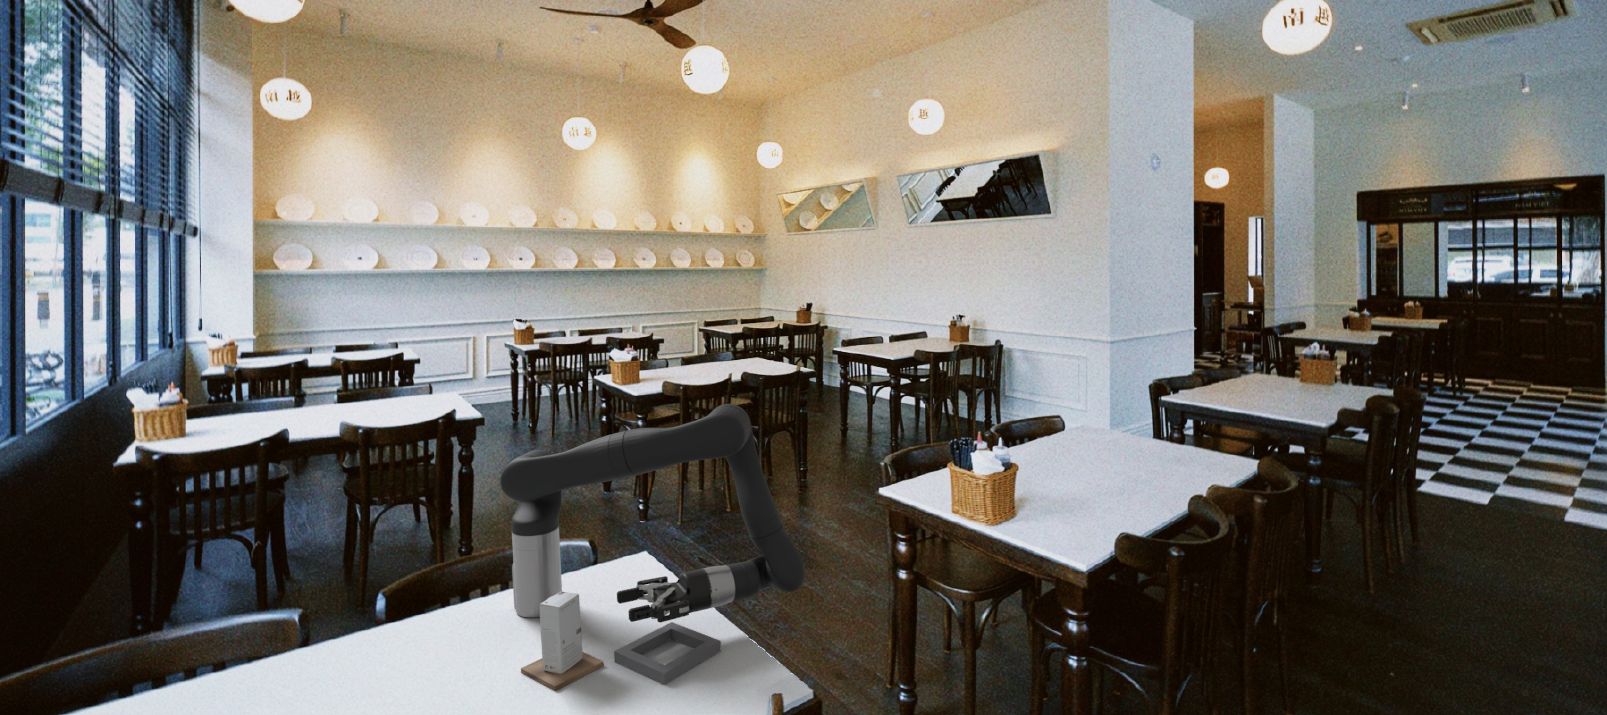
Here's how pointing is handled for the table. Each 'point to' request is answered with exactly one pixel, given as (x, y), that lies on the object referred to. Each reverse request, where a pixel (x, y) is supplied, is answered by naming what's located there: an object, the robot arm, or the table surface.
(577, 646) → the skincare box
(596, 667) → the coaster
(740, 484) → the robot arm
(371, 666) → the table surface
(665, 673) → the socket block
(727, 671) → the table surface
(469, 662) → the table surface
